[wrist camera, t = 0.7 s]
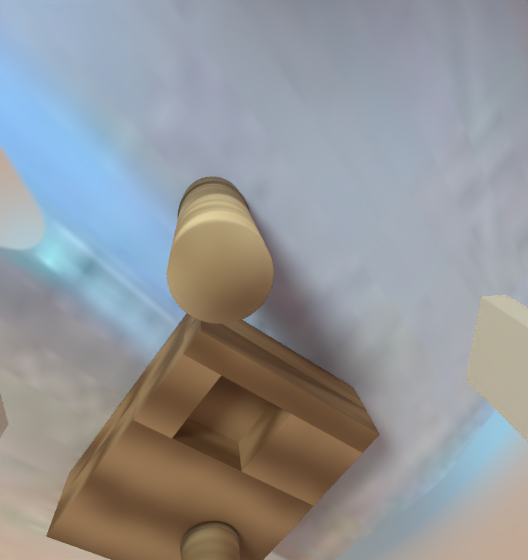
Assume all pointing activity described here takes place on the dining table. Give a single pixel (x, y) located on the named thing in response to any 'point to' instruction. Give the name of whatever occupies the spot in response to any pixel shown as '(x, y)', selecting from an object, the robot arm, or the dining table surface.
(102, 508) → the board
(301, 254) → the dining table surface
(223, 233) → the beech peg
